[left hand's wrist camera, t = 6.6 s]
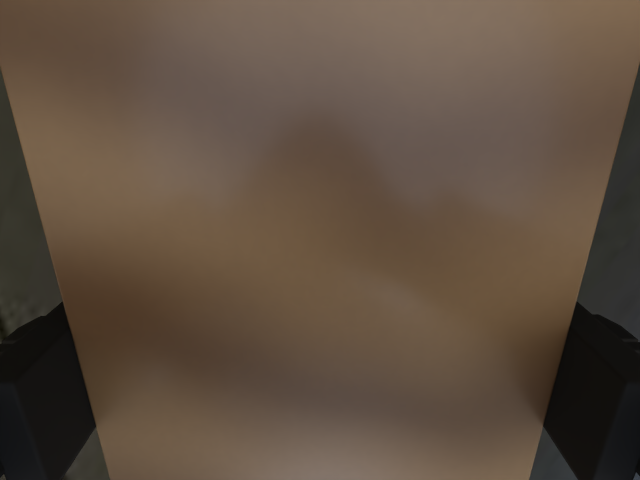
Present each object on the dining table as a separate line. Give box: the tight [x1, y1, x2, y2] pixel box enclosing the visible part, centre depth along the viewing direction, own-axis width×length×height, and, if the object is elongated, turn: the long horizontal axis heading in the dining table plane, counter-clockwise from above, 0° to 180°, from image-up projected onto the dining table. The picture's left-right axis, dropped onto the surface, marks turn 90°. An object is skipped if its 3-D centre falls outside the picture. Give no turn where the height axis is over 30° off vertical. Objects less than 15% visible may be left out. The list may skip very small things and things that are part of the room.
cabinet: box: [0, 0, 640, 480], centre depth 11 cm, size 21×10×9 cm, turn 0°
